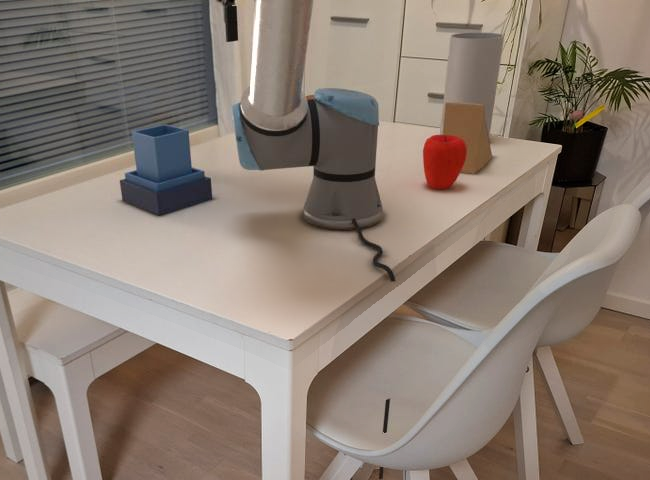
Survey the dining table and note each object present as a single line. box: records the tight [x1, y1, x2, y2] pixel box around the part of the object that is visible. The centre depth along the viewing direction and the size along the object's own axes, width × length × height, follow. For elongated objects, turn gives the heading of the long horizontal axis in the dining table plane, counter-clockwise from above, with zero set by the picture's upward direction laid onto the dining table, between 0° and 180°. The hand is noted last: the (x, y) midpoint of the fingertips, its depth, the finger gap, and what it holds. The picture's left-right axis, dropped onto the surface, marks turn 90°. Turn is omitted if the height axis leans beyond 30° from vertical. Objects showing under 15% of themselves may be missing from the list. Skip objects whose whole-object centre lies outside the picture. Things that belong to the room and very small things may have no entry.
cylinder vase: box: [439, 32, 505, 137], centre depth 170 cm, size 12×12×25 cm
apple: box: [422, 134, 467, 190], centre depth 143 cm, size 9×9×11 cm
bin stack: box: [119, 166, 213, 217], centre depth 143 cm, size 14×14×6 cm
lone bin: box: [131, 123, 193, 184], centre depth 140 cm, size 8×8×13 cm
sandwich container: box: [443, 102, 493, 175], centre depth 156 cm, size 9×15×15 cm, turn 148°
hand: (254, 43), depth 137 cm, fingers open, 13 cm apart
